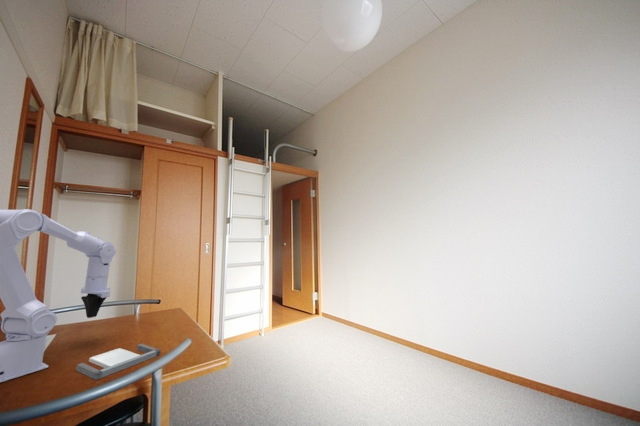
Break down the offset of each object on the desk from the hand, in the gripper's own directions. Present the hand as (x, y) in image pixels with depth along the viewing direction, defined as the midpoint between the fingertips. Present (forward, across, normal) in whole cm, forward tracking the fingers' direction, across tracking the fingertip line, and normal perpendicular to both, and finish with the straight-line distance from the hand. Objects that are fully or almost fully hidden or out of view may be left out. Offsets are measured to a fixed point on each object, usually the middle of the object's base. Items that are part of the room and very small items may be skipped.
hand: (91, 317), depth 84 cm
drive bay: (+9, -22, +1) cm, 24 cm away
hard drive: (+10, -20, +1) cm, 22 cm away
